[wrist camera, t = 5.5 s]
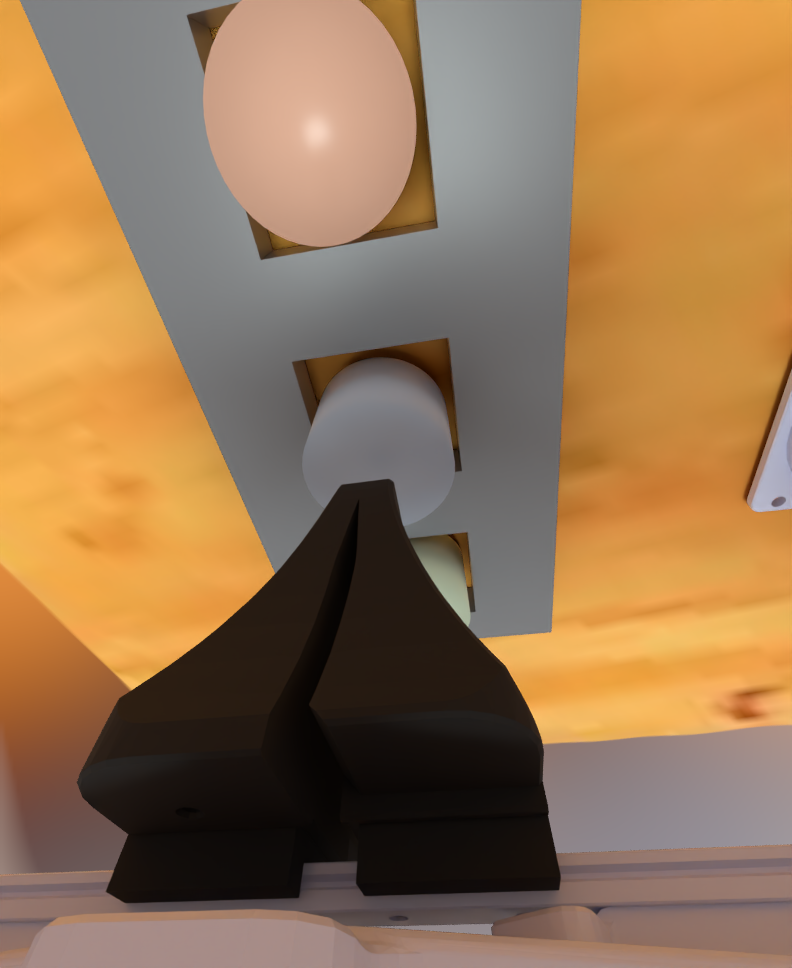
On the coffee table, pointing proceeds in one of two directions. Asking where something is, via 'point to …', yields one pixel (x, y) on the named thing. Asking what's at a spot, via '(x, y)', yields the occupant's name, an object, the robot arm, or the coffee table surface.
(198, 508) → the coffee table surface
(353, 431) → the slate button
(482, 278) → the grey slotted board
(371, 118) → the terracotta button
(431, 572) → the sage button
